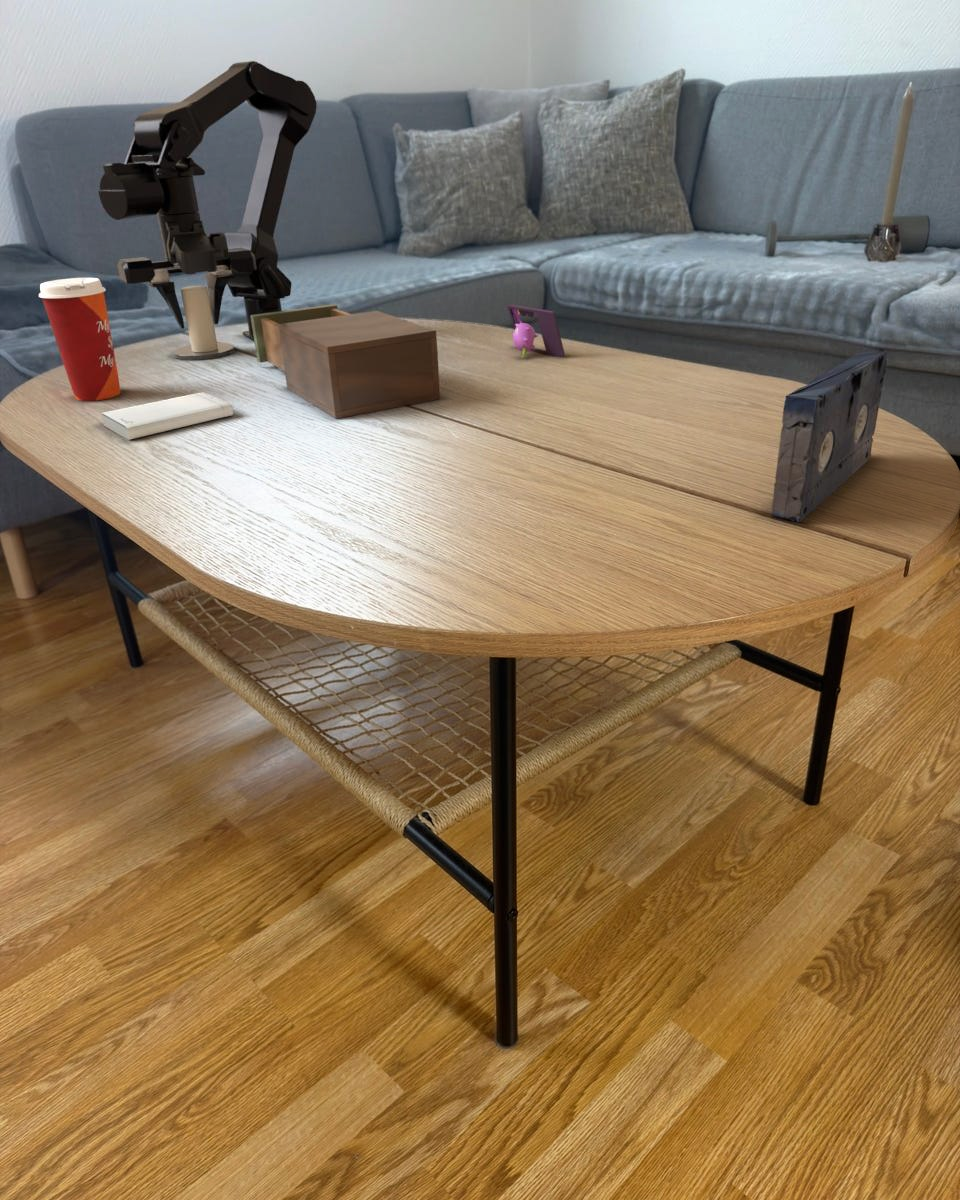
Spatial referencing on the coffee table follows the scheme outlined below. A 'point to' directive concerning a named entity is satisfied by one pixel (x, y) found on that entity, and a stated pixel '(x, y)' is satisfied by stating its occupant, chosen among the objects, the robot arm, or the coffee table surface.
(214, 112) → the robot arm
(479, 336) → the coffee table surface
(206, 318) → the candle
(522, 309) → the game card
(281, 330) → the cabinet
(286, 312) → the drawer
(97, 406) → the coffee table surface
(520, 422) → the coffee table surface
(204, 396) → the hard drive
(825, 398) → the vhs cassette tape
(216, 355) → the coaster
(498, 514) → the coffee table surface
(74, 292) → the paper cup
